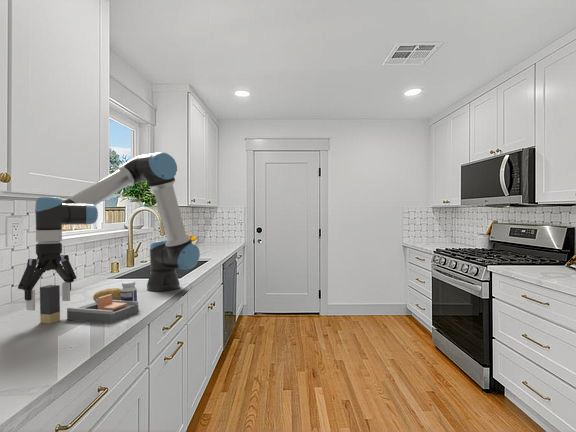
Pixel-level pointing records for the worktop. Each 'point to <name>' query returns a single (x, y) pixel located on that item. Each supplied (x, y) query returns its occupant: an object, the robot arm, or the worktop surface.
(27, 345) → the worktop surface
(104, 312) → the grey slab
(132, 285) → the pill bottle
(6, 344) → the worktop surface
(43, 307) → the plug
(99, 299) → the shutter
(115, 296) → the potato
